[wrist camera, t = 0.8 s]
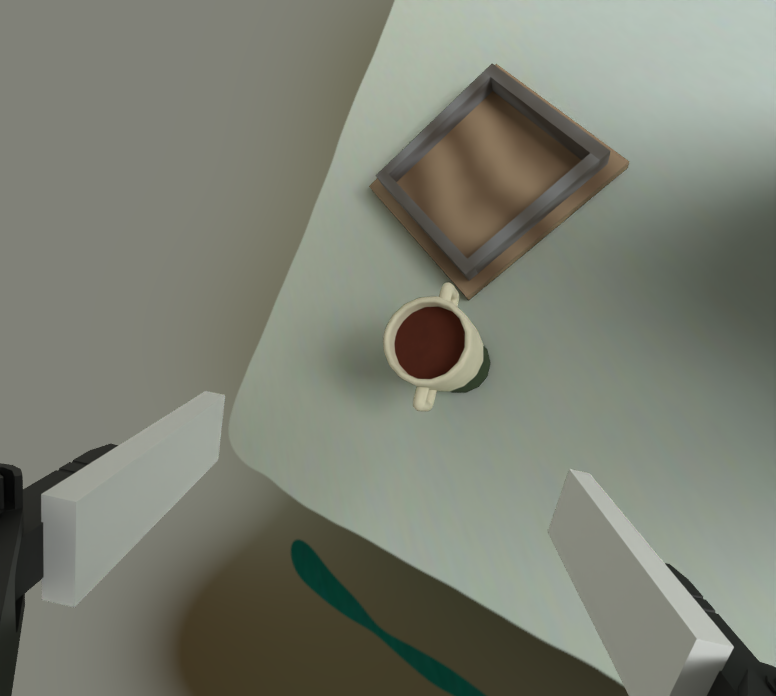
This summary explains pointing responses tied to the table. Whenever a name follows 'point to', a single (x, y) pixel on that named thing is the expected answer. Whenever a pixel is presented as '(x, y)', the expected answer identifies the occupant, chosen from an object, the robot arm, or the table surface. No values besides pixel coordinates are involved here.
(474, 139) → the mug dock
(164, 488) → the robot arm
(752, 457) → the table surface
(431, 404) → the character mug
